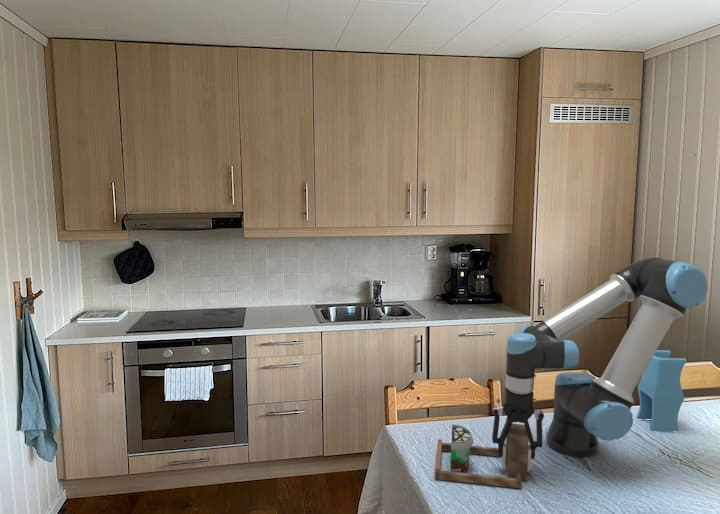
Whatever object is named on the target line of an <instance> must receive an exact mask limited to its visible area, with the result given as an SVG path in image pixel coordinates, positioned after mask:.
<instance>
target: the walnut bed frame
mask: <svg viewBox="0 0 720 514" xmlns="http://www.w3.org/2000/svg"><path fill="white" fill-rule="evenodd" d="M505 444H506V459H505V469H506V476H507V477H503V476H497V475H496V476H495V475H486V474H477V473H469V472H464V473H460V472H451V471H449V470H441V464H442V463H441V461H442V452H449V453H451V442H450V443H449V442H443V439H440V438H437V447H436V457H435V467H434V470H435V471H434V480H439V481H449V482H450V481H451V482H460V483H468V484H476V485H477V484H478V485H484V486H485V485H487V486H495V487H505V488H510V489H511V488H513V489H522V481H528V471H527V464H528V445H530V442H529V438H528V435H527V432H526V428H525V425H524V424H523V423H513V424H512V426H511V427H510V430H509V432H508V435H507V437H506V440H505ZM470 455H481V456H490V457H499V458H502V456H499V454H498V447H492V446H490V447H489V446H480V445H472V446H471V447H470Z"/></svg>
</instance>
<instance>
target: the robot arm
mask: <svg viewBox="0 0 720 514" xmlns="http://www.w3.org/2000/svg"><path fill="white" fill-rule="evenodd" d="M609 277H610V278H609V279H608V280H607V281H606V282H604V283H603V284H601V285H600V286H598V287H596V288H595V289H593V290H592V291H590V292H589V293H587V294H585V295H583V296H582V297H580V298H578V299H577V300H575V301H574V302H572V303H570V304H569V305H567V306H565V307H564V308H562V309H561V310H559V311H557V312H556V313H554V314H553V315H551V316H549V317H548V318H546V319H545V320H542V321H541V322H540V323H538V324H536V325H530V324H529V325H524V326H523V327H521V328H520V329H519V330H518V332H513V333H511V334H510V335H509V336H508V337H507V343H506V350H505V351H506V359H505V360H506V367H505V369H506V370H505V389H504V403H503V404H502V406H499V407H497V405H496V406H493V408H492V411H493V414H494V415H493V416H494V417H493V427H492V434H491V436H492V437H491V440H492V443H493V444H497V445H498V447H497V448H498V454H499V456H502V457H501V469H502V470H505V469H506V465H505V459H506V437H507V435H508V432H509V430H510V427H511V426H512V424H514V423H519V424H523V425H525V428H526V432H527V435H528V438H529V444H528V464H527V472H531V465H532V464H531V463H532V460H534V459H536V450H537V448H543V446H544V445H543V420H544V417H545V414H544V412H543V410H541V409H539V410H537V409H535V408H534V390H535V386H534V385H535V373H536V371H535V369H540V370H541V369H567V368H575V367H576V366H577V365H578V363H579V361H580V351H579V347H578V345H577V344H576V343H575V341H573V340H569V339H568V340H567V339H565V338H568V337H569V336H570V335H573V334H574V333H576V332H577V331H579V330H580V329H582V328H583V327H585V326H587V325H589V324H590V323H592V322H593V321H595V320H597V319H599V318H601V317H602V316H604V315H605V314H606V313H608V312H610V311H612V310H613V309H615V308H617V307H618V306H619V305H622V304H624V302H633V301H634V300H636V299H640V301H641V305H640V307H639V309H638V311H637V313H636V315H635V317H634V319H633V320H632V322H631V323H630V325H629V327H628V329H627V330H626V333H625V334H624V336H623V337H622V339H621V341H620V343H619V345H618V346H617V348H616V350H615V352H614V354H613V356H612V357H611V359H610V361H608V362H609V363H608V365H607V366H606V368H605V370H603V373H602V375H601V376H600V377H595V376H594V375H592V374H590V373H587V372H585V373H584V372H576V371H567V372H566V371H565V372H560V373H558V374H557V375H556V376H555V381H554V394H553V395H554V399H553V417H552V419H551V422H550V425H549V427H548V430H547V431H546V435H545V436H546V437H545V438H546V439H545V442H546V445H548V446H549V448H551V449H552V450H554V451H555V452H558V453H560V454H564V455H566V456H570V457H571V456H572V457H577V458H586V457H592V456H594V455H596V454H598V452H599V440H598V439H600V440H603V441H606V442H607V441H609V442H610V441H611V442H612V441H615V440H619V439H621V438H623V437H625V436H626V435H627V434H628V433H629V432H630V430H631V429H632V427H633V423H634V418H633V413H632V411H631V408H632V407H633V405H634V403H635V401H634V400H635V399H634V397H633V395H632V394H633V392H634V391H635V389H636V387H637V386H638V384H639V383H640V381H641V379H642V377H643V374H644V371H645V369H646V367H647V366H648V364H649V362H650V360H651V359H652V357H653V355H654V353H655V351H656V350H657V349H658V347H659V346H660V345H661V343H662V341H663V339H664V338H665V336H666V334H667V332H668V330H669V329H670V327H671V325H672V323H673V321H674V320H675V319H678V318H681V317H683V316H684V315H685V314H686V311H687V310H688V309H691V308H695V307H696V306H699V305H700V304H702V303H703V301H704V300H705V299H706V296H707V295H708V292H709V291H708V289H709V284H708V280H707V276H706V274H705V273H704V271H703V270H702V269H701V268H699V266H696V265H694V264H691V263H687V262H685V261H681V260H679V261H677V260H671V259H666V258H661V257H657V256H656V257H653V256H652V257H647V258H646V257H645V258H642V259H639V260H637V261H635V262H632V263H631V264H628V265H626V266H624V267H623V268H621V269H619V270H617V271H616V272H613V274H611V275H610V276H609ZM503 413H504V414H505V415H506V418H505V419H506V421H505V422H504V425H503V427H502V430H501V432H500V434H499V427H500V416H502V414H503ZM533 415H534V418H535V421H536V422H535V426H536V428H535V429H536V430H535V431H536V440H534V437H533V434H532V430H531V427H530V423H529V420H530V419H531V417H532V416H533ZM498 436H499V437H498ZM499 456H498V457H499Z"/></svg>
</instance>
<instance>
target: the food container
mask: <svg viewBox="0 0 720 514" xmlns="http://www.w3.org/2000/svg"><path fill="white" fill-rule="evenodd" d="M450 444H451V452H450V471H451V472H460V473H466V472H467V471H468V470H469V465H470V463H469V462H470V456H471V454H470V447H471V446H473V445H474V439H473V434H472V432H471V431H470V429H469V428H466V427H464V426H462V425H459V424H454V423H453V424H451V441H450Z"/></svg>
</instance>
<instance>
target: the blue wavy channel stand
mask: <svg viewBox="0 0 720 514" xmlns="http://www.w3.org/2000/svg"><path fill="white" fill-rule="evenodd" d="M671 353H672V352H671V350H670V349H669V350H668V349H667V350H661V349H660V350H659V349H658V350H656V351H655V353H654V355H653V357H652V359H651V360H650V362H649V364H648V366H647V367H646V369H645V371H644V373H643V374H642V376H641V378H640V380H639V382H638V384H637V391H638V395H639V408H638V411H637V415H636V417H635V419H636V418H637V419H651V420H650V424H649V425H650V426H649V431H650V430H651V431H678V432H679V424H678V422H679V421H678V420H679V419H678V418H679V412H680V409H681V407H682V405H683V402H684V400H685V395H684V392H683V388H682V385H681V376H682V372H683V368H684V367H685V364H686V362H687V358H676V357H675V358H674V357H672V358H670V357H671ZM651 431H650V432H651Z"/></svg>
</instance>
